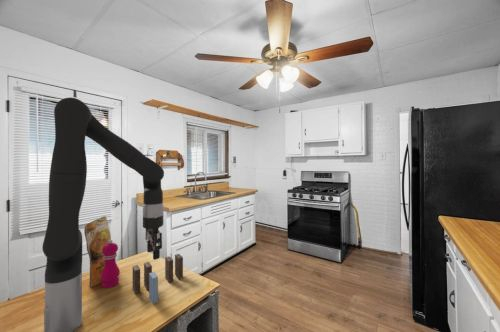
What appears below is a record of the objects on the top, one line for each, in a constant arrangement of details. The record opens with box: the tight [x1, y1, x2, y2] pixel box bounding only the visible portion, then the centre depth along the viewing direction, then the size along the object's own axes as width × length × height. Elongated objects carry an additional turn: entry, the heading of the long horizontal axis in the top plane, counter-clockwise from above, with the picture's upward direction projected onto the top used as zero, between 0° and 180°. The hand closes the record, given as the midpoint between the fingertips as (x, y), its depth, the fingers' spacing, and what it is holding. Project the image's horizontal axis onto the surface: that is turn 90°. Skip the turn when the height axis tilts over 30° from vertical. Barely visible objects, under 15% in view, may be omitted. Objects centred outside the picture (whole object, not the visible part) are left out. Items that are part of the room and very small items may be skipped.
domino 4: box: [164, 256, 174, 284], centre depth 100 cm, size 2×5×10 cm, turn 39°
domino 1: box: [132, 264, 141, 295], centre depth 92 cm, size 2×5×10 cm, turn 39°
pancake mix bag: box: [84, 215, 112, 288], centre depth 102 cm, size 7×19×28 cm, turn 3°
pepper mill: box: [101, 239, 121, 289], centre depth 97 cm, size 7×7×20 cm
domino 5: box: [174, 253, 184, 280], centre depth 103 cm, size 2×5×10 cm, turn 39°
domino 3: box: [148, 271, 159, 305], centre depth 86 cm, size 2×5×10 cm, turn 39°
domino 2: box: [143, 261, 153, 291], centre depth 95 cm, size 2×5×10 cm, turn 39°
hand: (153, 255), depth 85 cm, fingers open, 8 cm apart
